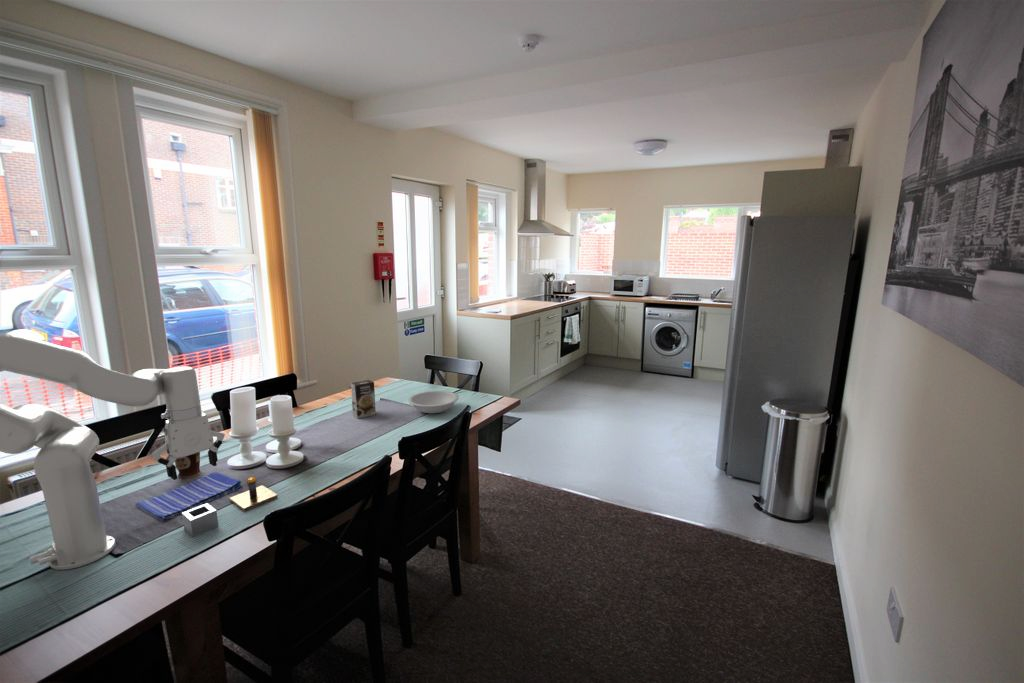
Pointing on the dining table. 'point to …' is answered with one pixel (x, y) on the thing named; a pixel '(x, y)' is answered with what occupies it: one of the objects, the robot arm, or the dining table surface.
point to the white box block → (200, 519)
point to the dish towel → (189, 496)
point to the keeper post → (253, 496)
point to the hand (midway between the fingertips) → (194, 471)
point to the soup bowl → (433, 401)
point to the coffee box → (363, 399)
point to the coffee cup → (188, 465)
